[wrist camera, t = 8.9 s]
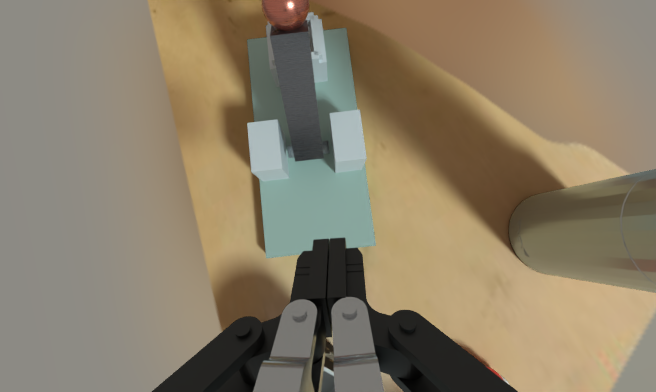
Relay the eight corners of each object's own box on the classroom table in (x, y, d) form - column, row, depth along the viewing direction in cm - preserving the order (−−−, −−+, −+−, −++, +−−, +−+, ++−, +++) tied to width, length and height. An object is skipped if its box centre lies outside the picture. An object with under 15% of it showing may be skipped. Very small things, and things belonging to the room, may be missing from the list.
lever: (328, 142, 35) (310, -31, 24) (330, 162, 33) (312, -22, 21) (289, 147, 35) (253, -25, 24) (289, 167, 33) (248, -15, 21)
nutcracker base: (345, 38, 40) (348, -5, 33) (373, 245, 36) (382, 246, 29) (251, 49, 40) (233, 9, 33) (269, 257, 36) (254, 261, 29)
